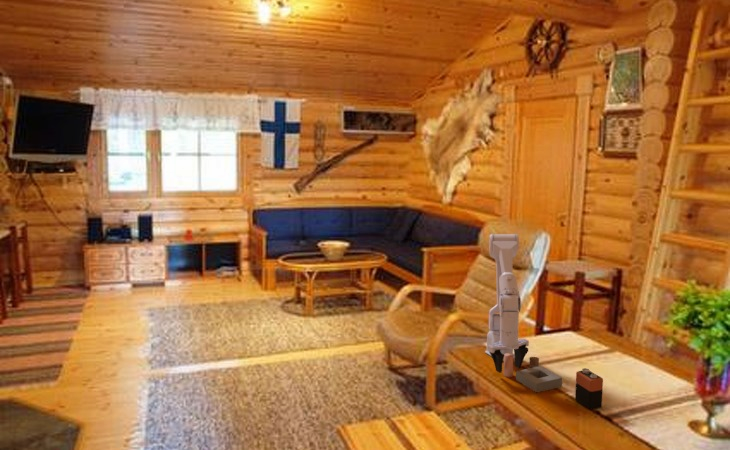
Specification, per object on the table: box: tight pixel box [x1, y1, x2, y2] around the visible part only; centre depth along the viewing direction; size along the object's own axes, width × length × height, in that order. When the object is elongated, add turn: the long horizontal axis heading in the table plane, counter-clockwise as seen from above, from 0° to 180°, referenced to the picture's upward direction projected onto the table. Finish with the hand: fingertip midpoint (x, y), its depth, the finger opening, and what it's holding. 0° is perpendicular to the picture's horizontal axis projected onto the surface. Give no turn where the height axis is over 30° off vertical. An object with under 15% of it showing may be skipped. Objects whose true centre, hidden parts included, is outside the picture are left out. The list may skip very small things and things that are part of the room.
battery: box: [574, 367, 604, 411], centre depth 162 cm, size 4×7×10 cm, turn 17°
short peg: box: [528, 356, 540, 369], centre depth 187 cm, size 3×3×4 cm
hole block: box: [515, 365, 563, 393], centre depth 177 cm, size 10×10×3 cm
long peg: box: [503, 353, 514, 378], centre depth 183 cm, size 3×3×7 cm
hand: (508, 369), depth 183 cm, fingers open, 7 cm apart
